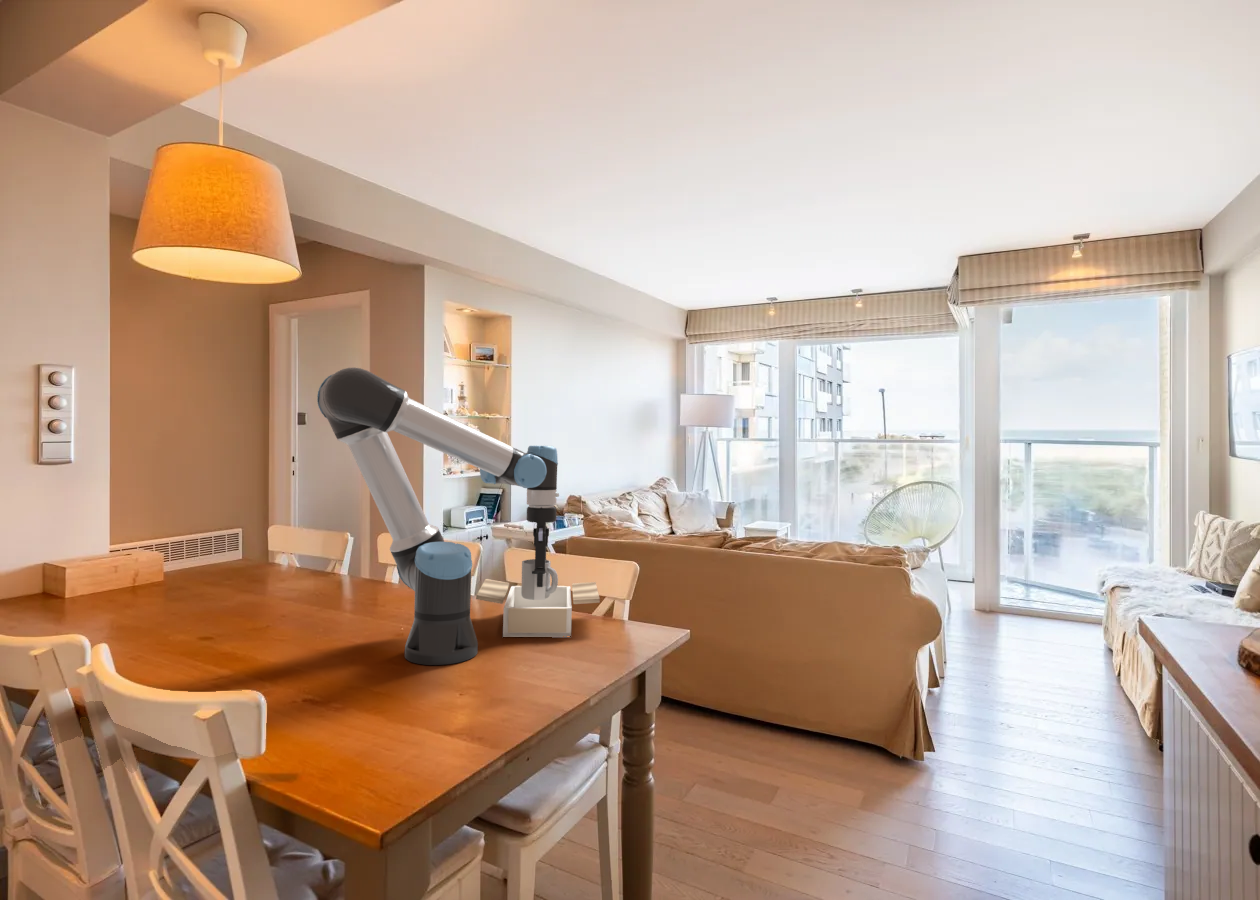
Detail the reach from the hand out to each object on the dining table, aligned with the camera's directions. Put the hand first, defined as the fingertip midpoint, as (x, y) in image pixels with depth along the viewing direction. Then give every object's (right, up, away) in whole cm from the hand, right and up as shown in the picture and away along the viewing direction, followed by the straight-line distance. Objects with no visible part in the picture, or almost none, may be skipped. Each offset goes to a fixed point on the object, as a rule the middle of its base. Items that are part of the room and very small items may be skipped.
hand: (540, 595), depth 169 cm
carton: (0, -7, 0) cm, 7 cm away
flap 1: (-12, +2, -1) cm, 12 cm away
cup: (0, -1, -1) cm, 1 cm away
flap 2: (+11, +1, +1) cm, 12 cm away
